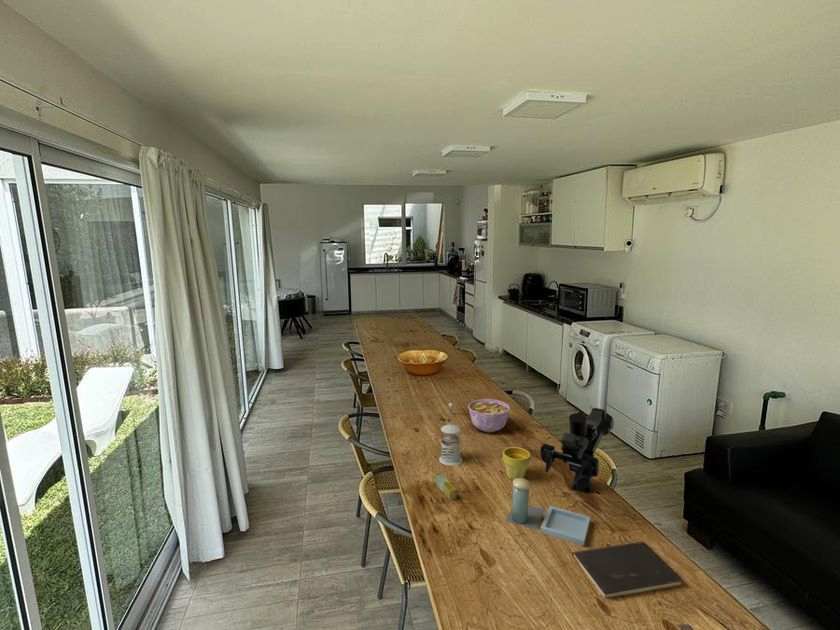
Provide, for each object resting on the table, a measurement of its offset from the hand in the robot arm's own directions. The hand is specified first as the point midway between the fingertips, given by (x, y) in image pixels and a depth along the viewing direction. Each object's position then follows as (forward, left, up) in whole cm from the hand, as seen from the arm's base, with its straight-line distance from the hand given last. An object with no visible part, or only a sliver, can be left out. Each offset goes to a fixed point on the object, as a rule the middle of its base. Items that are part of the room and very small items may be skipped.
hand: (560, 475), depth 141 cm
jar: (+5, -11, -16) cm, 20 cm away
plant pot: (-21, -20, -17) cm, 34 cm away
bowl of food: (-57, -44, -17) cm, 74 cm away
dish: (+2, +3, -17) cm, 17 cm away
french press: (-21, -47, -17) cm, 54 cm away
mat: (+2, -10, -17) cm, 20 cm away
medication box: (+1, -40, -17) cm, 44 cm away
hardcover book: (+13, +21, -17) cm, 30 cm away
